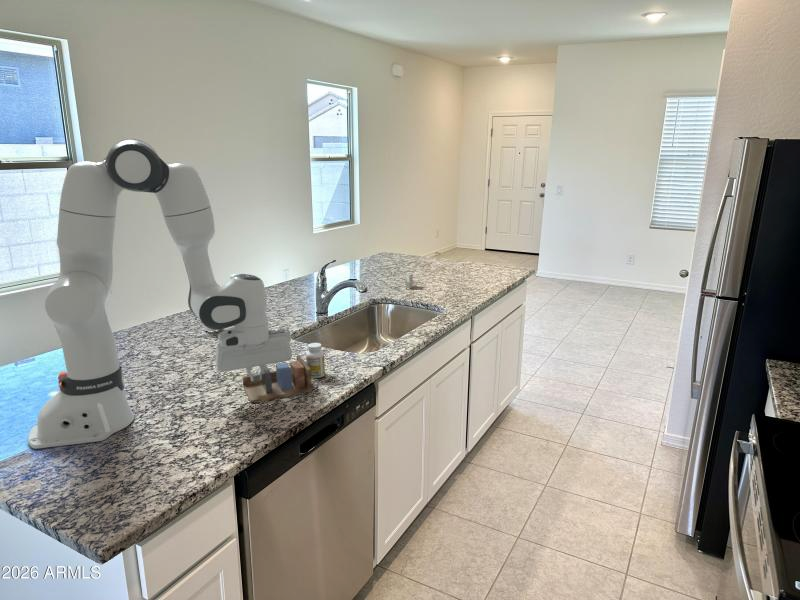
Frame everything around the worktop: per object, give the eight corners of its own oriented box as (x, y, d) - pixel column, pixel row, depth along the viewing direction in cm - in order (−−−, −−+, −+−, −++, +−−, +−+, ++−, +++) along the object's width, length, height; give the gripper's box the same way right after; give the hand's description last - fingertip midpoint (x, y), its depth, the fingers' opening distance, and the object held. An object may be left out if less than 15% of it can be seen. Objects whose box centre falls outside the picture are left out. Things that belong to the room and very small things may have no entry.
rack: (250, 403, 145) (248, 380, 143) (243, 386, 155) (241, 365, 153) (311, 391, 152) (310, 369, 150) (300, 376, 162) (299, 355, 160)
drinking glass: (224, 327, 207) (222, 302, 204) (217, 333, 200) (214, 307, 198) (207, 327, 207) (205, 302, 205) (199, 332, 201) (197, 307, 198)
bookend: (266, 393, 148) (265, 373, 147) (262, 386, 153) (260, 366, 152) (272, 392, 149) (270, 372, 147) (268, 384, 154) (266, 365, 152)
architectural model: (402, 289, 263) (402, 275, 261) (406, 286, 270) (406, 272, 268) (409, 290, 263) (409, 275, 260) (413, 287, 269) (413, 272, 267)
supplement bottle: (316, 370, 167) (315, 340, 164) (328, 374, 163) (327, 344, 161) (303, 375, 163) (301, 345, 160) (315, 380, 159) (313, 349, 157)
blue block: (281, 391, 150) (280, 371, 149) (277, 383, 155) (275, 364, 153) (292, 389, 151) (291, 369, 150) (287, 381, 156) (286, 362, 155)
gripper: (287, 324, 152) (290, 369, 156) (212, 335, 144) (217, 382, 148) (293, 330, 147) (296, 377, 151) (215, 342, 138) (220, 391, 142)
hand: (256, 380), depth 149 cm, fingers closed
